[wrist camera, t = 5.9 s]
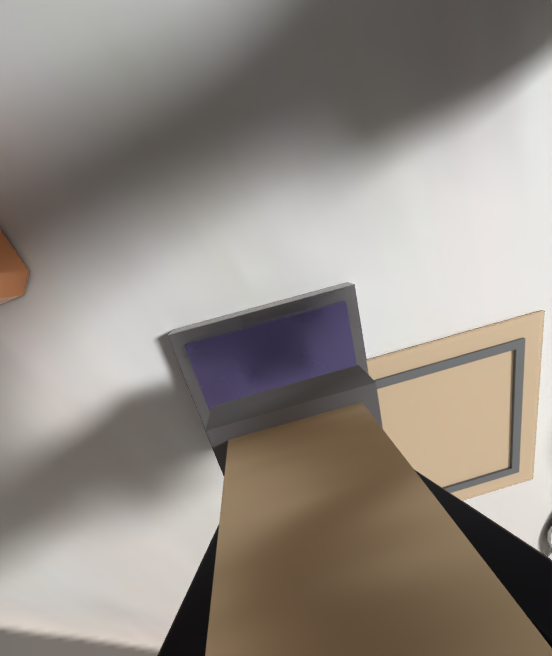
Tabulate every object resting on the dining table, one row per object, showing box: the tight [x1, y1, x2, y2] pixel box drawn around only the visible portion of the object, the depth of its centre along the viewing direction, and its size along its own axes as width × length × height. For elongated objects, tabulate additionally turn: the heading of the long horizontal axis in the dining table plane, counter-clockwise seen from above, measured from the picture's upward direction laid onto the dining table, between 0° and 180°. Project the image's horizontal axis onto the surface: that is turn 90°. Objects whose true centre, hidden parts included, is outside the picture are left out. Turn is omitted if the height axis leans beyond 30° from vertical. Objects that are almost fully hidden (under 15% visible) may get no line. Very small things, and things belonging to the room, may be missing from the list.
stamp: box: [205, 365, 552, 656], centre depth 6 cm, size 5×5×7 cm
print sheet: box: [367, 310, 545, 501], centre depth 18 cm, size 14×14×1 cm
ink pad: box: [167, 282, 369, 430], centre depth 15 cm, size 10×8×1 cm
